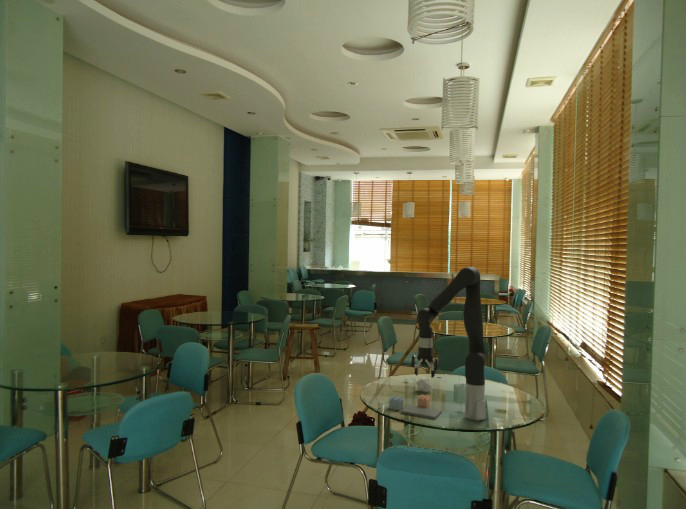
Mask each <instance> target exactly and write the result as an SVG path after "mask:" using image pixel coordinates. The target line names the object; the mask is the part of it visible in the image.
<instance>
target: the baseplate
mask: <svg viewBox="0 0 686 509" xmlns="http://www.w3.org/2000/svg"><path fill="white" fill-rule="evenodd" d="M442 413H443V412H442V410H439V409H434V408H430V407H429V408H423V407H418V405H417V406H415V405H411V404H410V405H409V404H408V405H407V406H405V407H403V408H402V409H401V410H400V414H403V415H410V416H414V417H420V418H426V419H430V420H431V419H432V420H436V419H437V418H438V417H439V416H440V415H441V414H442Z"/></svg>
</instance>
